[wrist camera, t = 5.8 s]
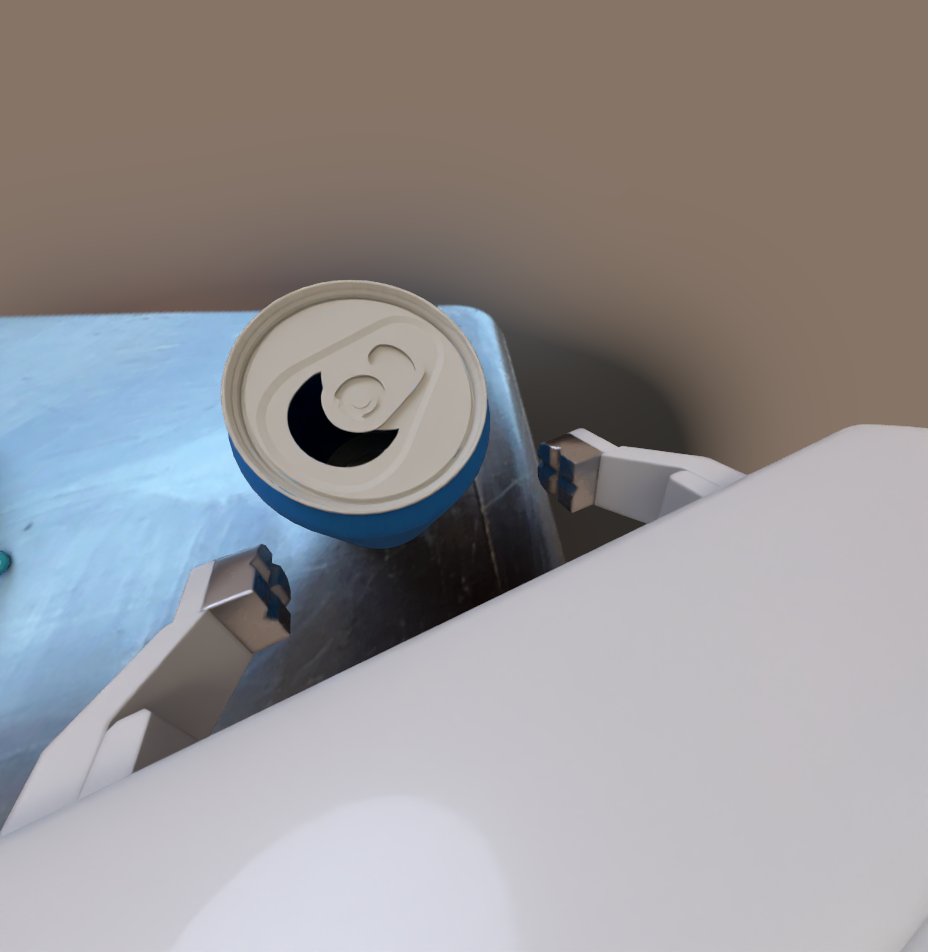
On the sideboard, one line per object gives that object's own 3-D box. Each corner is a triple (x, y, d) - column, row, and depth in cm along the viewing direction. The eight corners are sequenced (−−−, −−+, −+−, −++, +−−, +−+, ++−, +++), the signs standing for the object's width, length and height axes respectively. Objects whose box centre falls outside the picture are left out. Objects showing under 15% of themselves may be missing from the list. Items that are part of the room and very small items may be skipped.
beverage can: (295, 502, 18) (113, 404, 6) (373, 415, 20) (342, 218, 8) (394, 573, 18) (393, 603, 6) (461, 479, 20) (551, 374, 8)
